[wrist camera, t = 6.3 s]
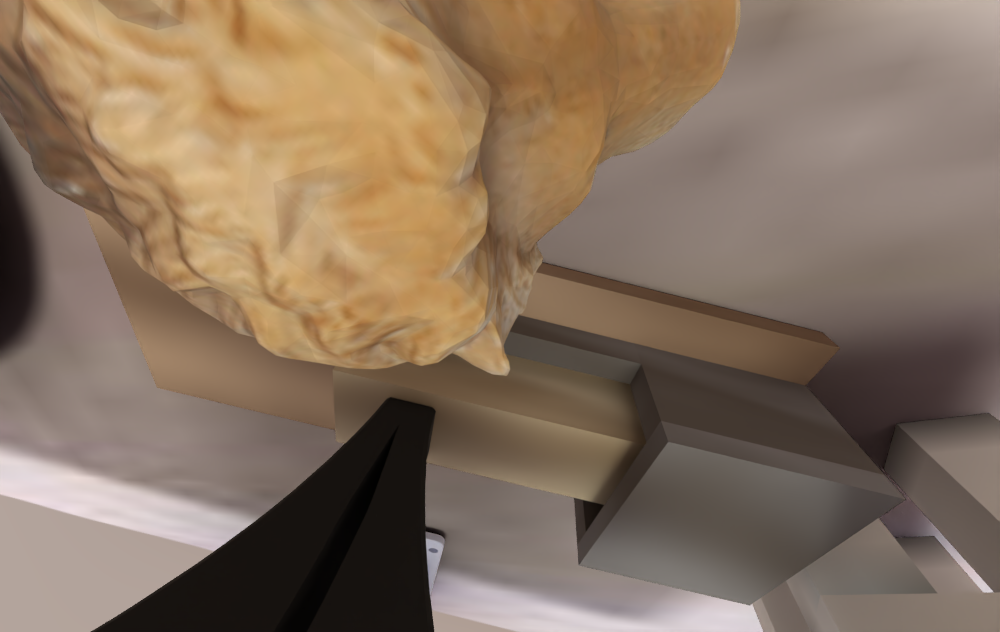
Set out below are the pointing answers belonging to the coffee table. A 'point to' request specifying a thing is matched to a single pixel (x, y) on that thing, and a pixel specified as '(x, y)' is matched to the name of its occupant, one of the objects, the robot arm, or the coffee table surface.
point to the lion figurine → (349, 148)
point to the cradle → (661, 408)
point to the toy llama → (911, 545)
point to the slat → (508, 421)
